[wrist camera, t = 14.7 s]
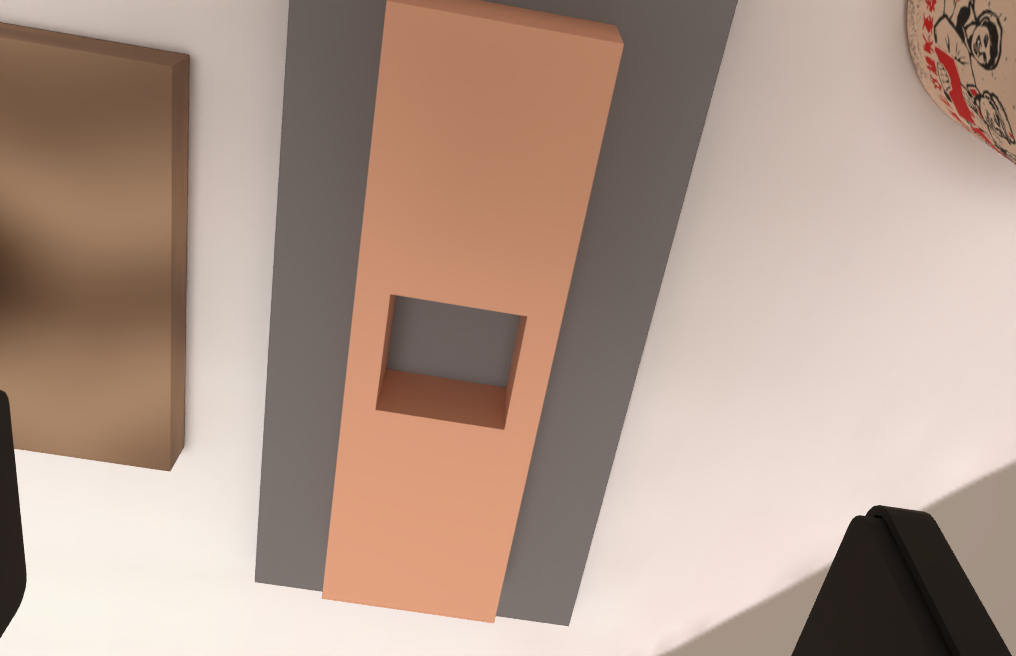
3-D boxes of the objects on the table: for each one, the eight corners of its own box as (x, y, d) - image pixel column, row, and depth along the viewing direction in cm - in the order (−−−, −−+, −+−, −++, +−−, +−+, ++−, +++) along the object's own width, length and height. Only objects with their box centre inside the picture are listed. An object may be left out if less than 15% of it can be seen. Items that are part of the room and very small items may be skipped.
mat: (303, -113, 26) (295, -110, 25) (738, -32, 26) (745, -27, 26) (261, 563, 37) (254, 581, 36) (567, 607, 38) (568, 626, 37)
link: (398, -15, 26) (386, 0, 24) (616, 25, 26) (623, 44, 24) (334, 549, 35) (321, 598, 33) (496, 573, 36) (493, 623, 33)
